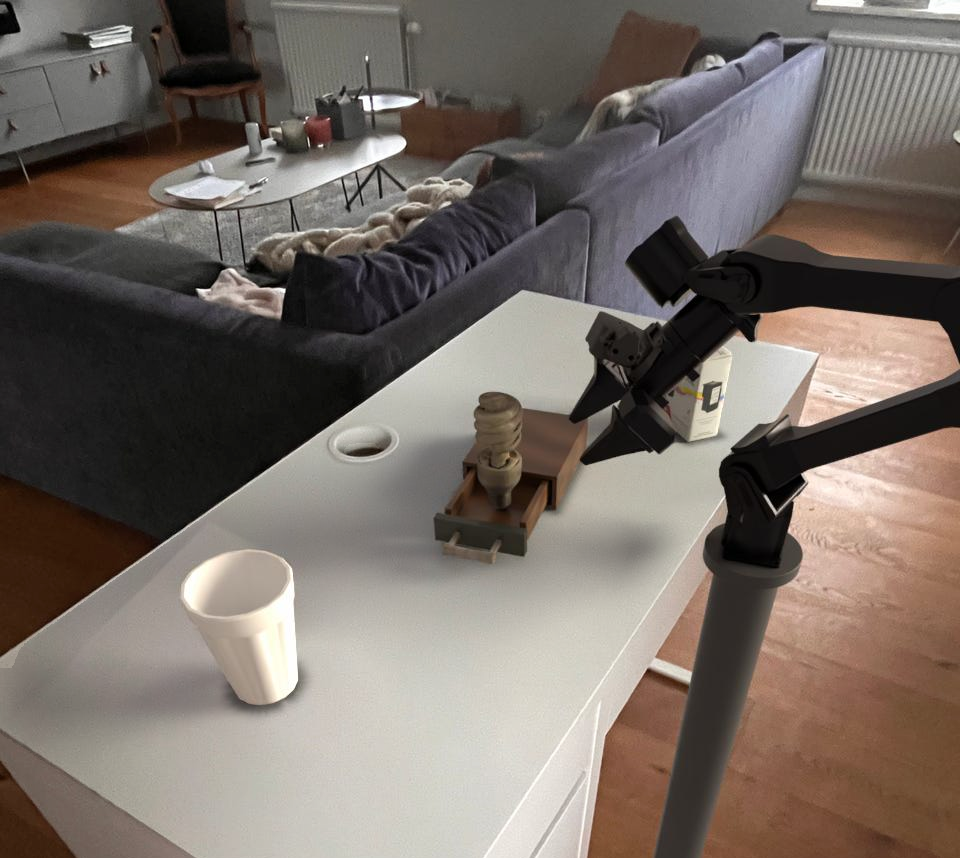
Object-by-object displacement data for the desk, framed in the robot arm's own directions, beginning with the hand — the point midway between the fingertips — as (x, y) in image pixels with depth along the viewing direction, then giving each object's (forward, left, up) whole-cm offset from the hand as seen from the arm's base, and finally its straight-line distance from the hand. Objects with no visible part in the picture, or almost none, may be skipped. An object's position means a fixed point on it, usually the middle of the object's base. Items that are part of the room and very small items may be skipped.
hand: (576, 440), depth 93 cm
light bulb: (+8, +4, -9) cm, 13 cm away
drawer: (+8, +5, -10) cm, 14 cm away
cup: (+21, +36, -11) cm, 44 cm away
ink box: (-10, -27, -11) cm, 30 cm away
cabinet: (+8, -9, -10) cm, 16 cm away
